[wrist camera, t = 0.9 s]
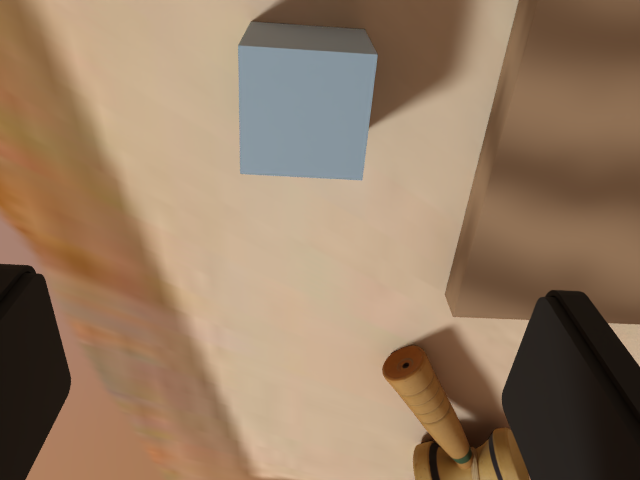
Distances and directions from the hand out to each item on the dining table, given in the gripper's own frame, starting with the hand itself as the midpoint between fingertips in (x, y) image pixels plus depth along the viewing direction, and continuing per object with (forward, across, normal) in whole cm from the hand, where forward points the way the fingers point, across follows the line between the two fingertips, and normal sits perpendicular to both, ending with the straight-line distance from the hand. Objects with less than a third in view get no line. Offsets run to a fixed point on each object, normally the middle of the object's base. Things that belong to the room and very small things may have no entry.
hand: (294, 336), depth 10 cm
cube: (+17, 0, 0) cm, 17 cm away
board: (+17, -16, +2) cm, 23 cm away
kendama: (+17, -12, +23) cm, 31 cm away
